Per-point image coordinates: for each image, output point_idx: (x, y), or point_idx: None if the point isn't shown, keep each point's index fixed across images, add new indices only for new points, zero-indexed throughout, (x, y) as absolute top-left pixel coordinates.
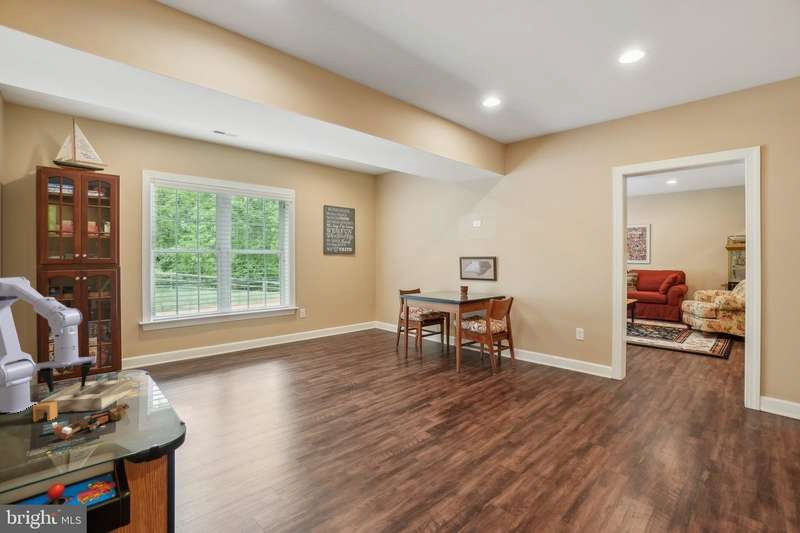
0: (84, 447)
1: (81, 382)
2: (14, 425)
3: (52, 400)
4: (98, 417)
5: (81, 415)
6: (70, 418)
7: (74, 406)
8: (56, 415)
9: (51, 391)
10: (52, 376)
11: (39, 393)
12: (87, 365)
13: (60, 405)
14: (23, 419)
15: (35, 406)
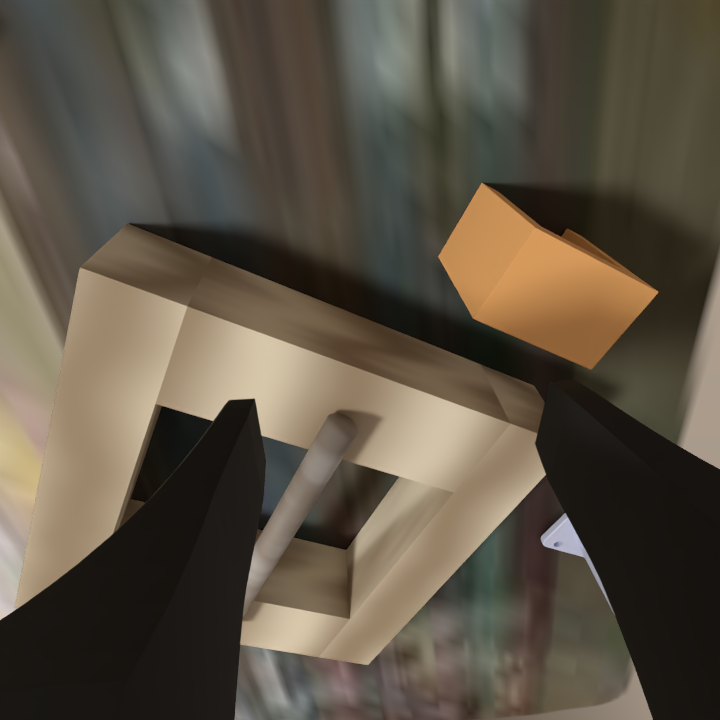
0: None
1: (240, 434)
2: (683, 234)
3: (497, 422)
4: None
5: (266, 173)
6: (341, 145)
7: (338, 327)
8: (446, 253)
9: (561, 383)
10: (625, 611)
11: (526, 644)
12: None
13: (435, 372)
14: None
15: (636, 279)
